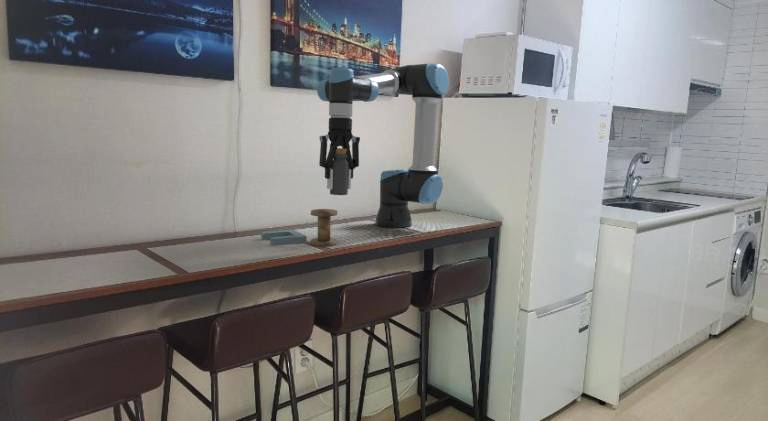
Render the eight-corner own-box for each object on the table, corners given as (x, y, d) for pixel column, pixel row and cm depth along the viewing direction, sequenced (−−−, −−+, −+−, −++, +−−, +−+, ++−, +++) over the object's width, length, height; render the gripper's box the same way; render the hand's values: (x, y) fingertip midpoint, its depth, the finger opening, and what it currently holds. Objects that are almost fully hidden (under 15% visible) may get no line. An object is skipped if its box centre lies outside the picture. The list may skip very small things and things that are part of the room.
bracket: (293, 236, 199) (293, 229, 199) (306, 242, 188) (306, 236, 188) (261, 238, 193) (261, 232, 193) (273, 246, 182) (272, 238, 182)
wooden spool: (330, 240, 194) (330, 208, 192) (341, 245, 186) (341, 212, 184) (306, 242, 189) (306, 209, 187) (316, 247, 181) (317, 213, 180)
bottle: (326, 194, 178) (327, 148, 176) (336, 192, 183) (337, 148, 181) (341, 195, 175) (342, 148, 173) (351, 194, 180) (352, 148, 178)
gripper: (361, 118, 183) (359, 187, 186) (308, 116, 174) (307, 188, 177) (371, 118, 177) (369, 189, 180) (318, 115, 168) (316, 190, 171)
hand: (338, 188), depth 179 cm, fingers closed on bottle, 6 cm apart
